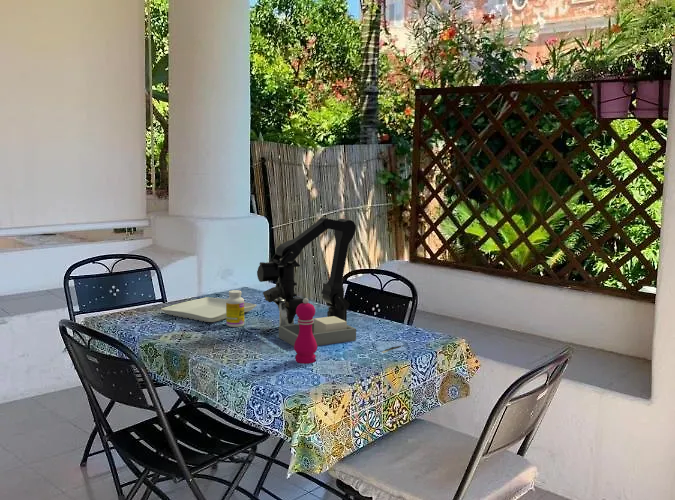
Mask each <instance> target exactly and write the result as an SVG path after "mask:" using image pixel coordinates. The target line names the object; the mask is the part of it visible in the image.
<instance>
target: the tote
mask: <svg viewBox="0 0 675 500" xmlns="http://www.w3.org/2000/svg"><path fill="white" fill-rule="evenodd" d="M312 333H313V336H314V338H315V340H316V343H317V347H319V346H325V345H327V346H328V345H333V344H339V343H347V342H355V341H357V328H355V327H354V326H351V325H349V324H347V329H345V330H337V331H330V332H322V333H315V334H314V323H313V324H312ZM298 334H299V324H298V323H294V324H292V325H284V326H280V325H278V338H279V339H280V340H282V341H284V342H285V343H287V344H289V345H290V346H292V347H294V344H295V341H296V339H297V336H298Z"/></svg>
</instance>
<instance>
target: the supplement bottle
mask: <svg viewBox="0 0 675 500" xmlns="http://www.w3.org/2000/svg"><path fill="white" fill-rule="evenodd" d="M228 296H229V297H227V298H226V299H227V300H226V319H225V320H226V321H225V322H226V326H227V327H229V328H231V327H232V328H239V327H240V328H241V327H242V326H244V325H245V313H244V302H245V299H244V298H243V297H242V291H241V290H237V289H235V290H233V289H232V290H229V291H228Z"/></svg>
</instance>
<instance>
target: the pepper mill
mask: <svg viewBox="0 0 675 500" xmlns="http://www.w3.org/2000/svg"><path fill="white" fill-rule="evenodd" d="M302 299H303V303H301V304H299V305H298V306H297V308H296V316H297V324H299V334H298V336H297V339H296V341H295V344H294V346H293V350H294V351H295V352H296V354H295V362H296V363H298V364H305V365H306V364H307V365H308V364H312V363H315V362H316V358H317V357H316V354H315V353H316V351H317V350H318V346H317V343H316V340H315V338H314V336H313V333H312V324H313V323H314V319H315V318H313V317H314V316H315V314H316V307H315V306H314V305H313V304H312V303H309V299H308V298H306V297H304V298H302Z"/></svg>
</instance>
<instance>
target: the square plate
mask: <svg viewBox="0 0 675 500" xmlns="http://www.w3.org/2000/svg"><path fill="white" fill-rule="evenodd" d="M227 299H228V298H225V299H224V298H221V297H220V298H219V297H210V296H209V297H208V296H207V297H202V298H197V299H192V300H188V301H184V302H179V303H175V304H173V305H169V306H166V307H162V308H160V311H162V312H163V313H164V314H167V315H169V316H172V315H173V317H177V316H178V317H177V318H181V317H183V318H182V319H187V318H189V319H188V320H192V319H194V320H193V321H197V320H199V322H203V321H204V322H205V323H215V322H221V321H223V320H226V300H227ZM256 307H257V304H255V303H250V302H245V301H244V314H245V313H248V312H250V311H253V309H255V308H256ZM204 322H203V323H204Z"/></svg>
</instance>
